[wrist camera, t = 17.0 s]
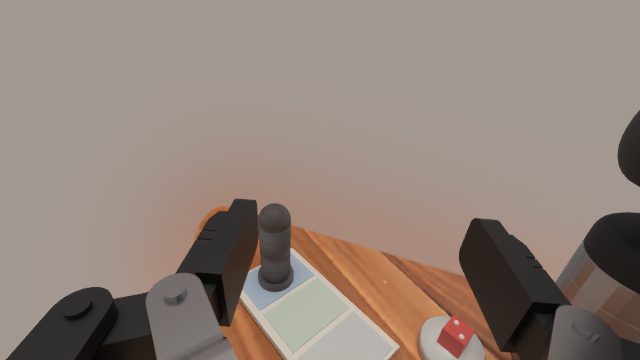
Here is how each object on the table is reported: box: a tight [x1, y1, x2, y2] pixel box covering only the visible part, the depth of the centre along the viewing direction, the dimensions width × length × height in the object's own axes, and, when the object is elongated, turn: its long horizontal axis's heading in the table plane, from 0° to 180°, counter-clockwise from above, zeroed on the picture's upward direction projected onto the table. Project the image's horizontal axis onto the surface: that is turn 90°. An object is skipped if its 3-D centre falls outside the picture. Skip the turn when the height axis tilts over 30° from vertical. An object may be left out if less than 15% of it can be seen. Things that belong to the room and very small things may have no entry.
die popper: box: [418, 315, 485, 360], centre depth 35 cm, size 7×7×5 cm
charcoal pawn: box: [258, 203, 294, 292], centre depth 39 cm, size 5×5×12 cm
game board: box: [239, 248, 400, 360], centre depth 38 cm, size 11×21×1 cm, turn 42°
